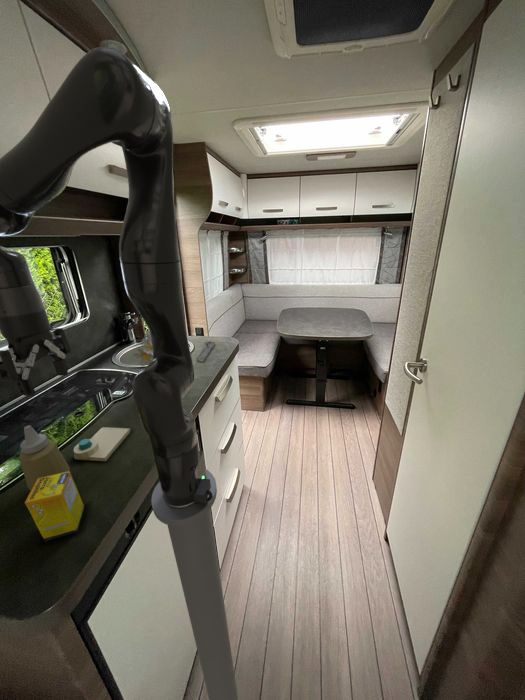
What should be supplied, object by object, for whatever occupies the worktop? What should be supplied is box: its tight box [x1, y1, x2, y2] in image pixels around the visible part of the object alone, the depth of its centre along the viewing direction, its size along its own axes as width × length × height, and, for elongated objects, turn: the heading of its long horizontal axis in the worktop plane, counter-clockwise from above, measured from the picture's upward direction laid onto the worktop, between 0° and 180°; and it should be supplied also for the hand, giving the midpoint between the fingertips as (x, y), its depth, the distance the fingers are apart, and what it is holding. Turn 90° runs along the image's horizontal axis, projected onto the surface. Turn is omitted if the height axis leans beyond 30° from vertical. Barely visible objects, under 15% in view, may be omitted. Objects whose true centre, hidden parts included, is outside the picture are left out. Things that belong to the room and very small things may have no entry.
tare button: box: [78, 438, 91, 450], centre depth 75 cm, size 3×3×2 cm
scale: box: [73, 426, 131, 462], centre depth 79 cm, size 13×9×3 cm
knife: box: [198, 341, 215, 363], centre depth 141 cm, size 25×1×5 cm
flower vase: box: [132, 330, 153, 367], centre depth 98 cm, size 13×18×25 cm
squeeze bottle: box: [18, 424, 70, 492], centre depth 63 cm, size 8×8×18 cm
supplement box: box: [24, 470, 85, 542], centre depth 56 cm, size 6×6×11 cm
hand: (47, 384), depth 59 cm, fingers open, 8 cm apart
